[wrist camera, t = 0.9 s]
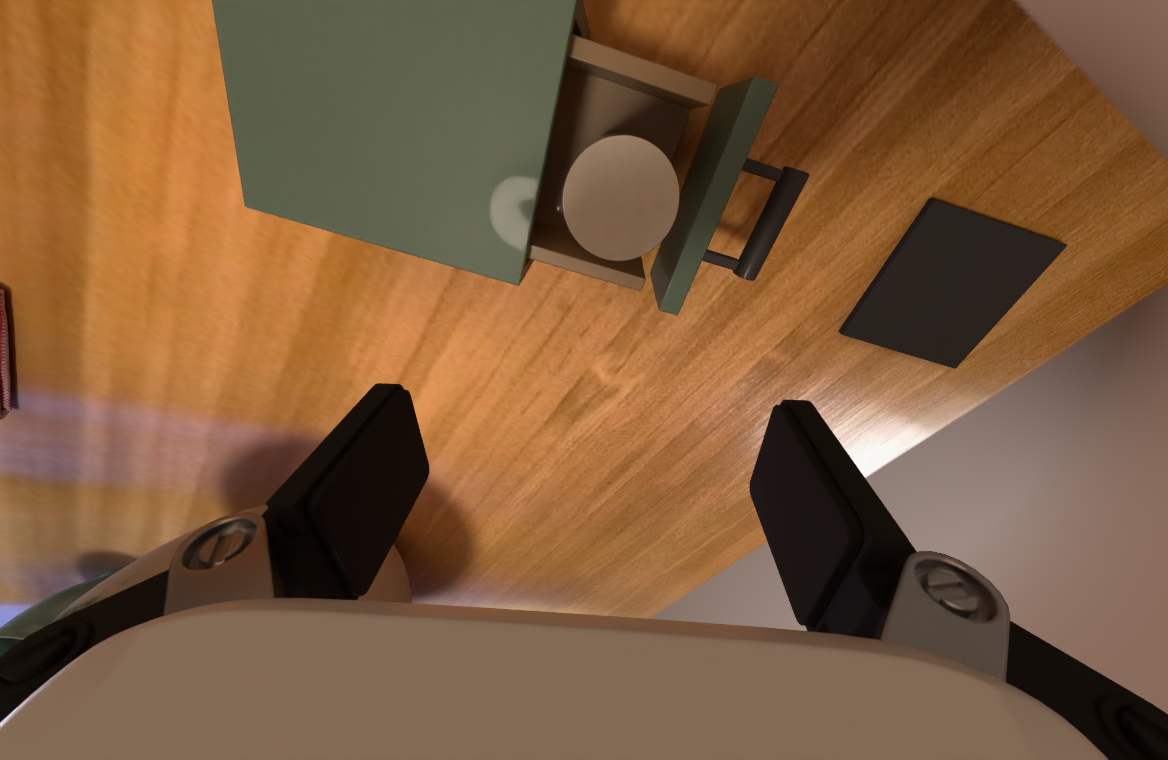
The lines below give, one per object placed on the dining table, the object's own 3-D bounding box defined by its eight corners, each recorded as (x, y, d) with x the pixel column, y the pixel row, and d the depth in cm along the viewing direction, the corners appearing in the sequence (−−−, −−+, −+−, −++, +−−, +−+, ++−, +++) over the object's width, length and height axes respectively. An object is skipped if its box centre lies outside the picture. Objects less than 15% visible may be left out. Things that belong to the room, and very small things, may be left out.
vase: (457, 614, 58) (335, 1000, 32) (254, 585, 57) (-36, 957, 31) (453, 469, 42) (214, 982, 17) (176, 427, 42) (-504, 899, 16)
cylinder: (593, 120, 24) (579, 117, 14) (664, 144, 24) (699, 157, 14) (574, 198, 26) (550, 243, 16) (639, 219, 27) (654, 274, 17)
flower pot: (57, 542, 54) (-56, 627, 45) (185, 566, 55) (100, 654, 46) (103, 606, 63) (16, 688, 53) (213, 626, 64) (146, 710, 55)
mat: (929, 197, 27) (935, 199, 26) (1060, 242, 28) (1068, 244, 27) (838, 331, 32) (841, 334, 31) (950, 365, 33) (955, 369, 32)
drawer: (805, 117, 24) (865, 115, 18) (719, 295, 30) (744, 335, 24) (510, 13, 22) (475, -25, 17) (482, 223, 28) (448, 249, 23)
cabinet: (589, 30, 23) (579, -13, 16) (542, 246, 30) (519, 286, 23) (328, -63, 22) (185, -156, 15) (338, 186, 28) (244, 207, 21)
